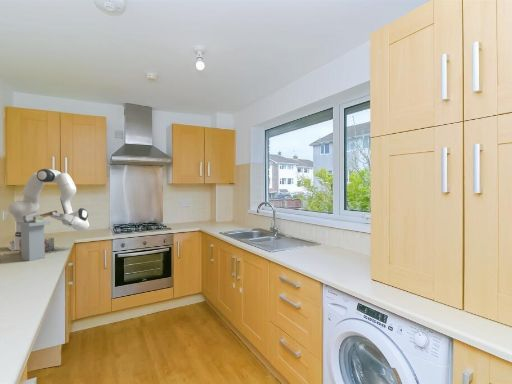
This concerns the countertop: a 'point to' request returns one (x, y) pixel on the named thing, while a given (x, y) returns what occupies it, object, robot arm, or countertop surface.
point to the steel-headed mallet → (30, 216)
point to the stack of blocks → (47, 242)
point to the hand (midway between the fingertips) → (51, 212)
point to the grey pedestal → (32, 240)
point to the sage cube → (37, 219)
